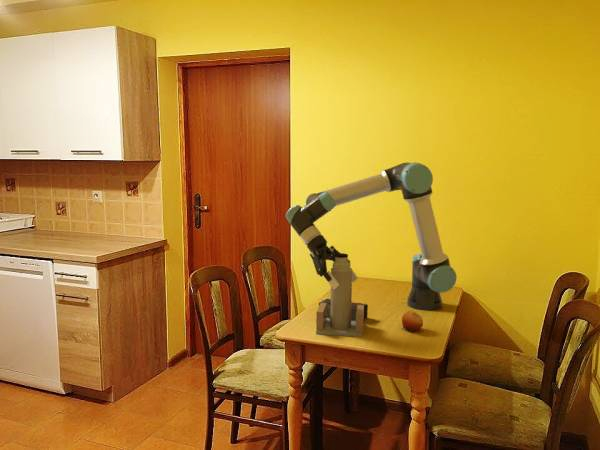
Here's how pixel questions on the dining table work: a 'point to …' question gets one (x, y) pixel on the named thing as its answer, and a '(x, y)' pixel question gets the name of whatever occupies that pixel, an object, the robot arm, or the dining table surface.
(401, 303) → the dining table surface
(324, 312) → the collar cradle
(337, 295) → the thermos bottle
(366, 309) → the beverage carton
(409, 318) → the fruit
